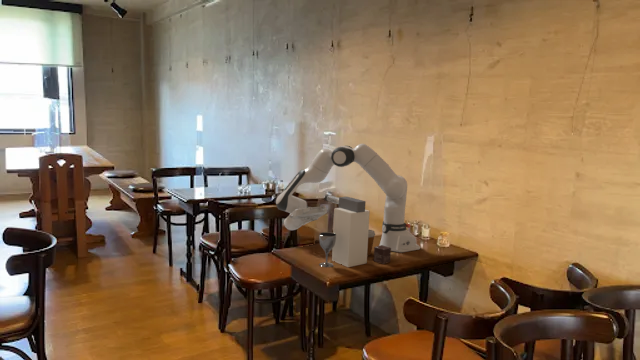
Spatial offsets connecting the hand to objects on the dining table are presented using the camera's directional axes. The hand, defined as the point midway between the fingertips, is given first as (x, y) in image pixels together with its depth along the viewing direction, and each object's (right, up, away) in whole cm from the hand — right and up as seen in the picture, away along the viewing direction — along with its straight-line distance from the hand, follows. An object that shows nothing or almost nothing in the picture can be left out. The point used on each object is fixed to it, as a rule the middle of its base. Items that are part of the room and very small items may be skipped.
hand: (317, 207), depth 260 cm
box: (+32, -26, -15) cm, 44 cm away
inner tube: (+12, +2, -16) cm, 20 cm away
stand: (+16, -26, -18) cm, 35 cm away
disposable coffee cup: (+25, -24, -3) cm, 34 cm away
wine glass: (+4, -26, -24) cm, 36 cm away
